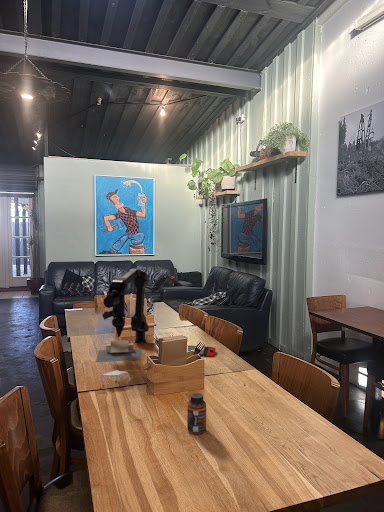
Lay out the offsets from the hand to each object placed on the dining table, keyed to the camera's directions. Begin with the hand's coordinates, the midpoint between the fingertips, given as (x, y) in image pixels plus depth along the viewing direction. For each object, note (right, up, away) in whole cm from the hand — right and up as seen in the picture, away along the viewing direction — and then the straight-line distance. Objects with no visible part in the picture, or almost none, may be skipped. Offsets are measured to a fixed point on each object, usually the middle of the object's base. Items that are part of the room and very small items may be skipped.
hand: (119, 334), depth 191 cm
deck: (0, -7, +1) cm, 7 cm away
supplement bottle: (+39, -15, -74) cm, 85 cm away
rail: (0, -10, +3) cm, 11 cm away
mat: (+1, -10, -3) cm, 11 cm away
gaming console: (+35, -11, +2) cm, 37 cm away
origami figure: (+5, -13, -38) cm, 41 cm away
